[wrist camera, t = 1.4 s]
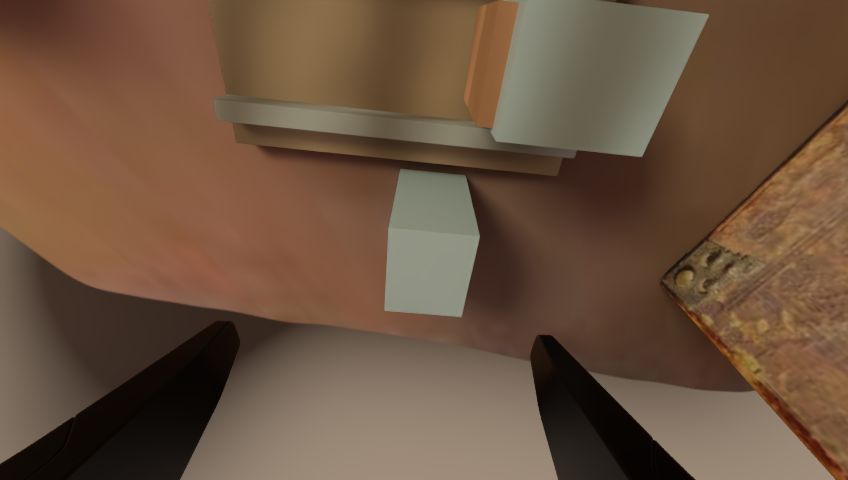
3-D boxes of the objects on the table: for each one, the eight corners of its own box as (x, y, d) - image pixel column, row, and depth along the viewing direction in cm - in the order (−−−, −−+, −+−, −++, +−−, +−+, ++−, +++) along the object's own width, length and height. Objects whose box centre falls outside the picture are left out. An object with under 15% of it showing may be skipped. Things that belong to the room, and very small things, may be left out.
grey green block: (452, 249, 23) (459, 325, 18) (395, 244, 23) (384, 318, 17) (465, 175, 20) (479, 236, 15) (400, 168, 20) (388, 227, 14)
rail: (630, -80, 14) (824, -179, 7) (550, 168, 20) (613, 244, 13) (194, -140, 13) (-59, -315, 6) (246, 136, 19) (144, 199, 12)
